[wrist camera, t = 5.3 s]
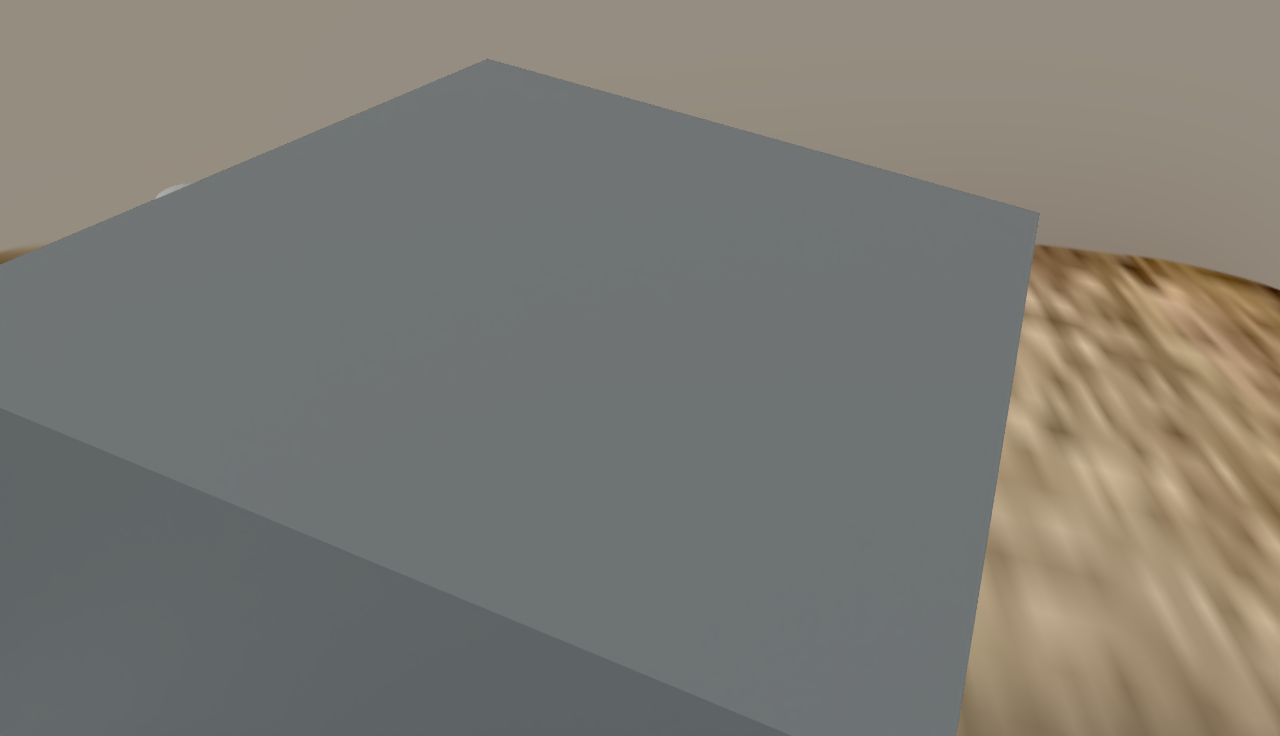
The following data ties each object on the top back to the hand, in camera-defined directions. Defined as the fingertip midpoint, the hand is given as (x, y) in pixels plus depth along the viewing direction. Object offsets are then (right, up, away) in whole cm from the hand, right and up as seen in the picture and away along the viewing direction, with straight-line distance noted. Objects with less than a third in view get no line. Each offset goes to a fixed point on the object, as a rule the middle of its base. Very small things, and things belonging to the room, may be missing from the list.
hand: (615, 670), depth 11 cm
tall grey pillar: (-2, -7, +2) cm, 8 cm away
